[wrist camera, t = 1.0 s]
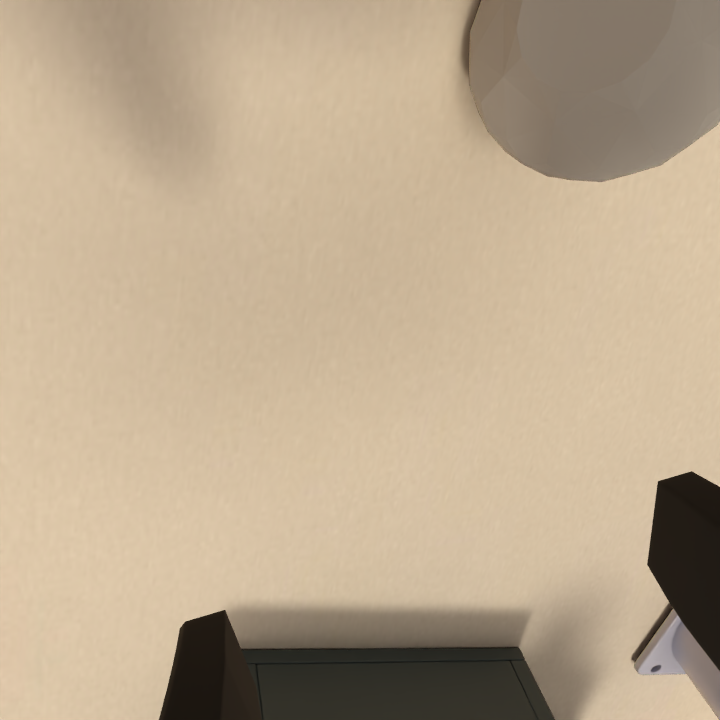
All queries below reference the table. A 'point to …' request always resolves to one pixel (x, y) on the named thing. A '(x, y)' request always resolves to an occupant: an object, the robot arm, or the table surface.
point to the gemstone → (596, 81)
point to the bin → (396, 684)
